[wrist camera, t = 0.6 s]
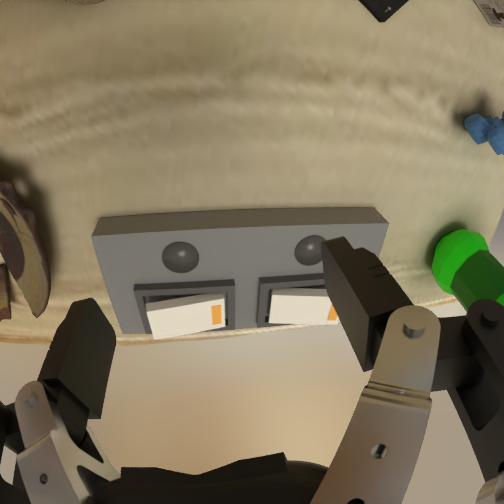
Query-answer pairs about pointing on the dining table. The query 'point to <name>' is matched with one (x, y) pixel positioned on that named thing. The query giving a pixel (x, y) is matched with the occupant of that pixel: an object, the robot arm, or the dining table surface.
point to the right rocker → (301, 307)
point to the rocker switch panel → (223, 257)
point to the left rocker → (186, 315)
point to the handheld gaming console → (383, 8)
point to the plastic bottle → (468, 268)
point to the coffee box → (492, 11)
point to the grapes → (486, 131)
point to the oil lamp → (21, 253)
